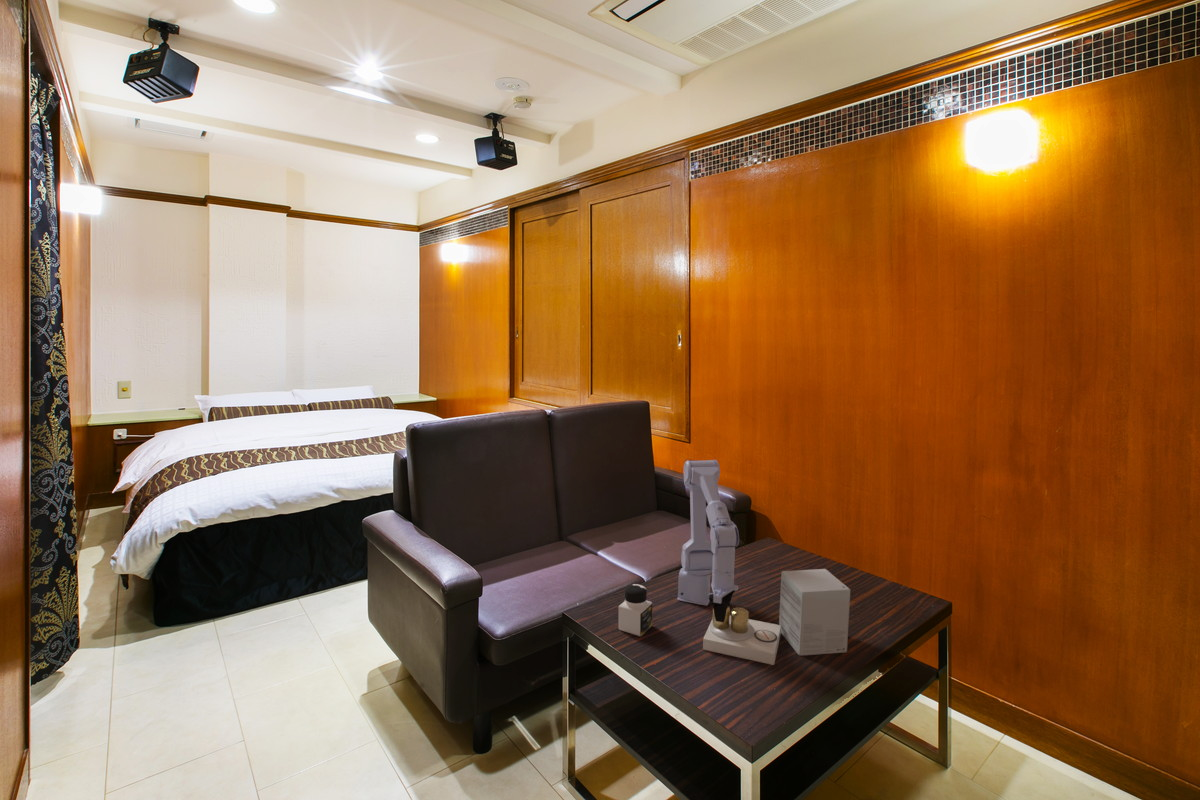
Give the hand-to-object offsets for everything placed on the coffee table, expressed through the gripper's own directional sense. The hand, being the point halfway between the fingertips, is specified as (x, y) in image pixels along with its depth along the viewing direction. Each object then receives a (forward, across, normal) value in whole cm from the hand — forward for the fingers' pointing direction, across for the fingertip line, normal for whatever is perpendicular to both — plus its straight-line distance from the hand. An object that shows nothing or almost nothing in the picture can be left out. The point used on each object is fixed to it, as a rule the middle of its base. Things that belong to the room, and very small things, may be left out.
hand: (721, 616), depth 158 cm
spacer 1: (+2, 0, 0) cm, 2 cm away
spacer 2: (+2, 0, -5) cm, 5 cm away
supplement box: (+6, +8, -23) cm, 25 cm away
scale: (+6, 0, -6) cm, 8 cm away
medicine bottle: (+6, -4, +23) cm, 24 cm away
